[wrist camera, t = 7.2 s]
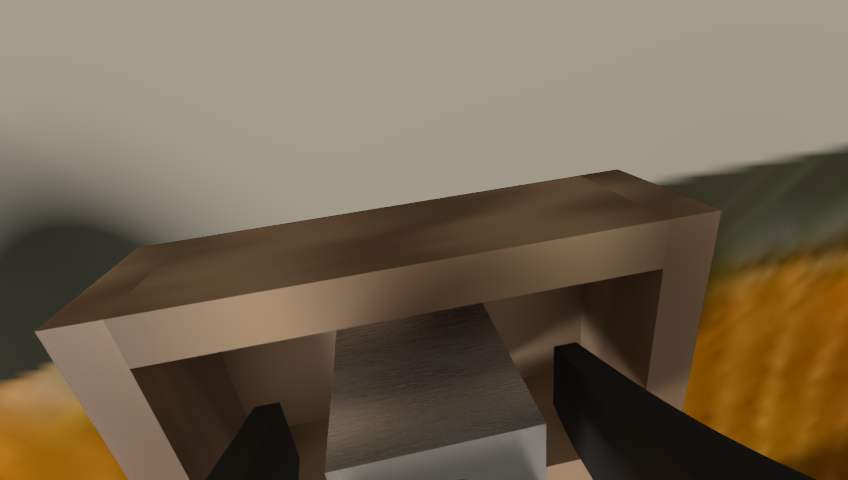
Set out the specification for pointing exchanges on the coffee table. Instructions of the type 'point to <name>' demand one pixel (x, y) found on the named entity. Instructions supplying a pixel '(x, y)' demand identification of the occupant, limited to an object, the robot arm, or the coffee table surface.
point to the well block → (381, 311)
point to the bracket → (431, 403)
